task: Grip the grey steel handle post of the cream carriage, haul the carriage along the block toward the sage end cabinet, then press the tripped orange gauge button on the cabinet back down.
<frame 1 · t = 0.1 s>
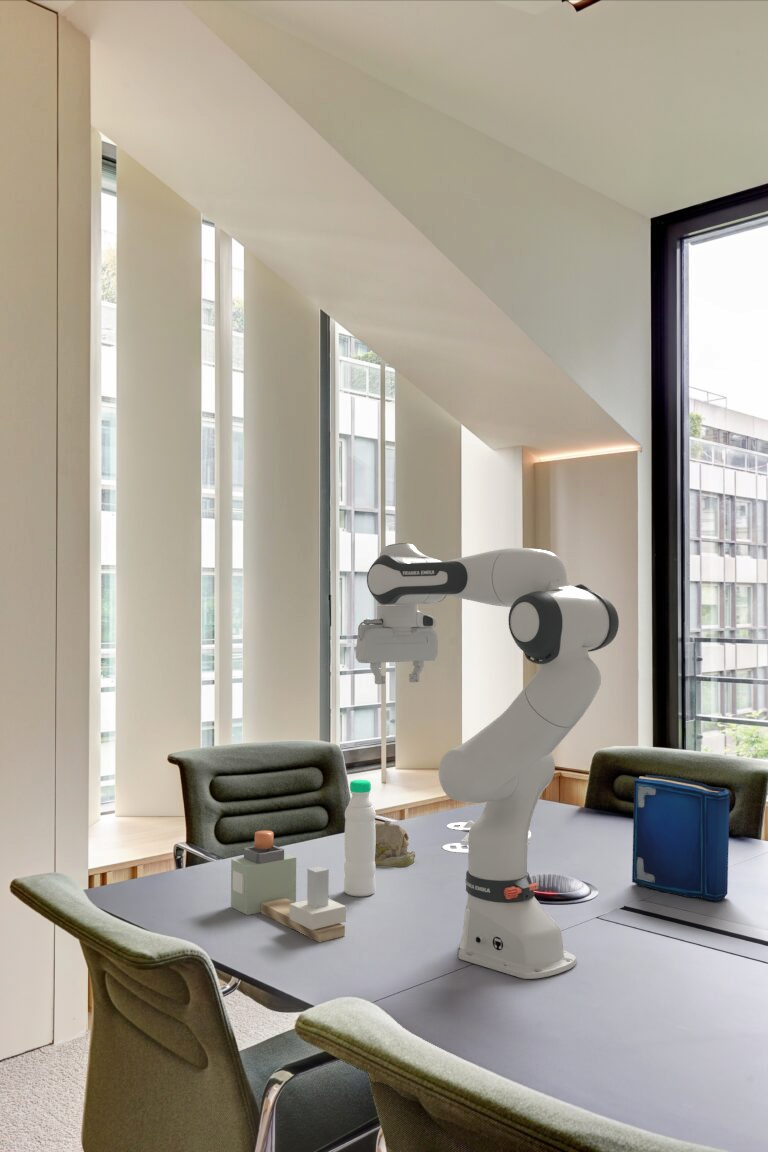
hand: (397, 683, 204), 48 cm above the table, fingers open, 8 cm apart
block: (301, 924, 191), on the table
end cabinet: (263, 905, 203), on the table
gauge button: (264, 839, 204), point 14 cm above the table, slide at 0.0 cm
carriage: (317, 894, 187), point 7 cm above the table, slide at 0.0 cm
cable organizer: (487, 840, 265), on the table
book: (681, 892, 215), on the table
water bottle: (359, 893, 213), on the table
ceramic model: (387, 861, 241), on the table
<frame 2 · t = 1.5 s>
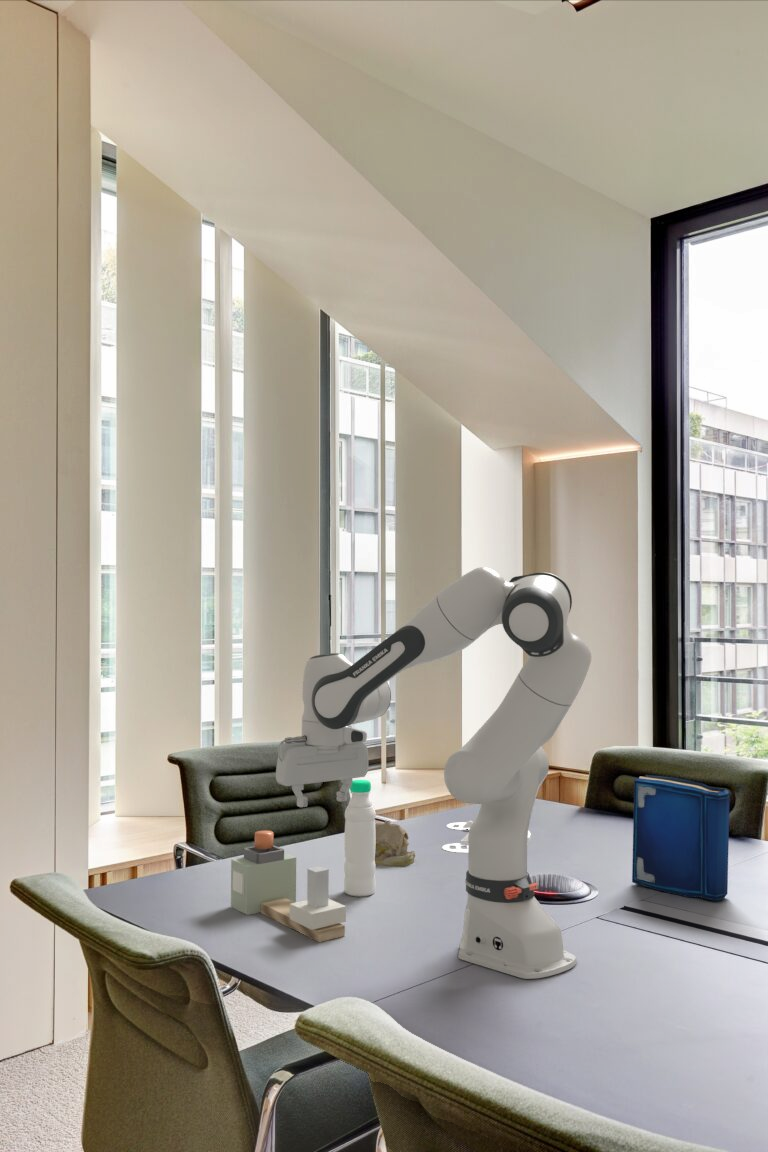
hand: (322, 803, 189), 25 cm above the table, fingers open, 8 cm apart
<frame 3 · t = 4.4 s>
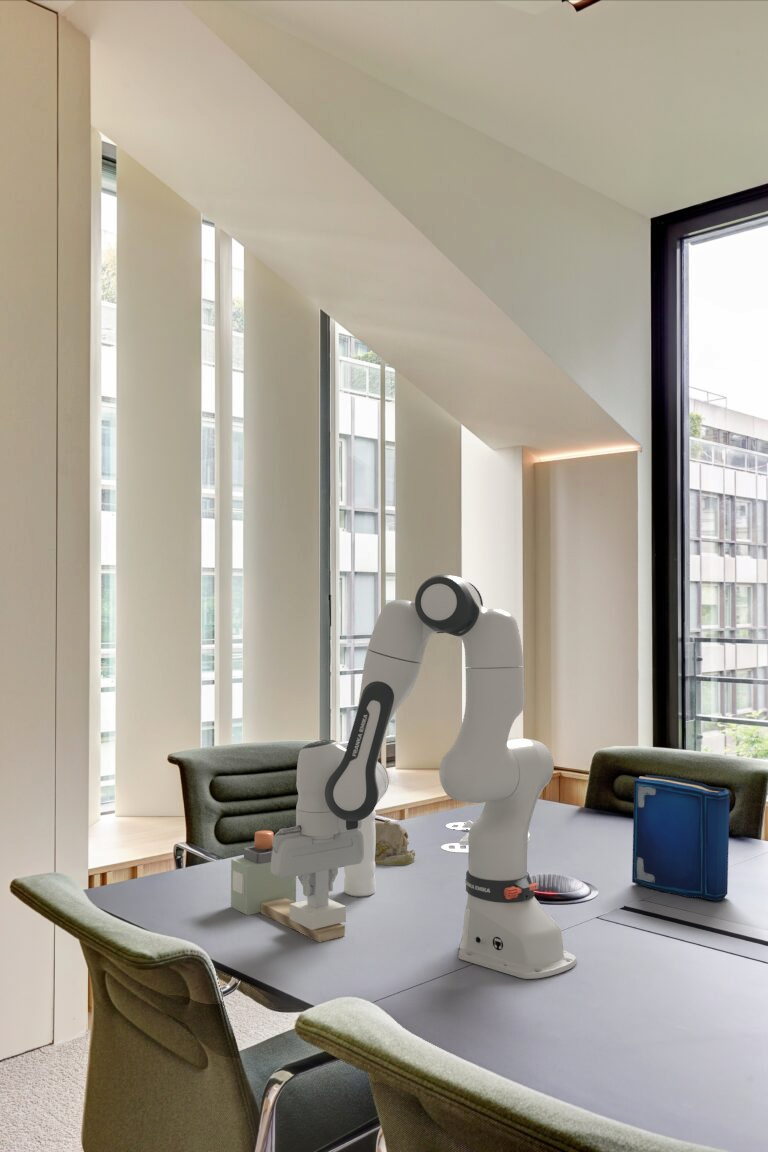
hand: (317, 893, 187), 8 cm above the table, fingers closed on carriage, 3 cm apart
carriage: (317, 894, 187), point 7 cm above the table, slide at 0.0 cm, touching gripper
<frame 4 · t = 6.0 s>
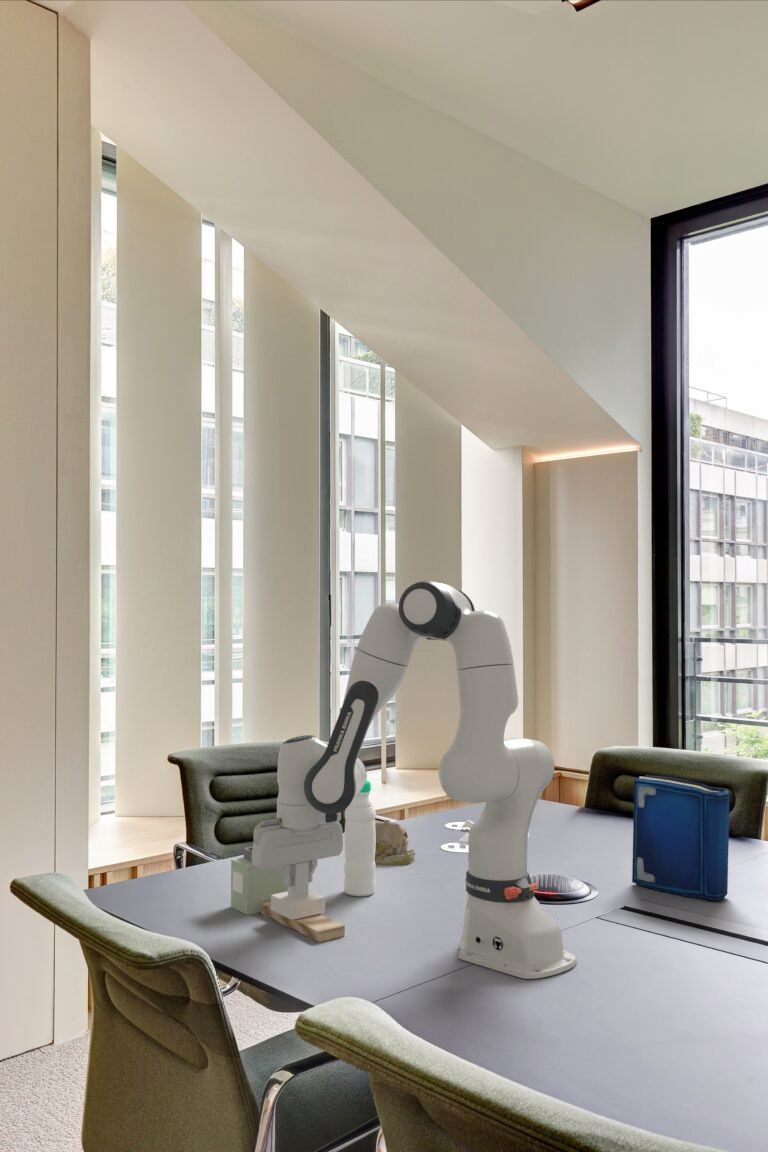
hand: (298, 883, 193), 8 cm above the table, fingers closed on carriage, 3 cm apart
carriage: (298, 886, 193), point 7 cm above the table, slide at 7.2 cm, touching gripper
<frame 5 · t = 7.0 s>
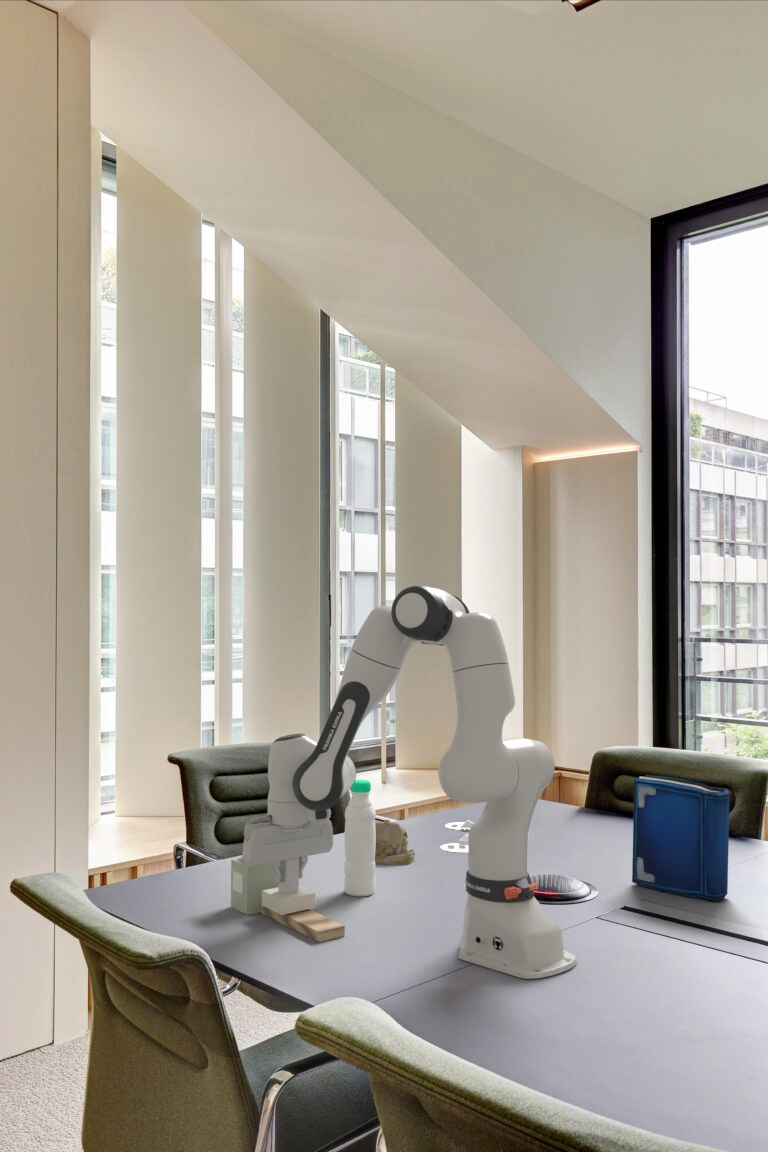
hand: (288, 880, 196), 8 cm above the table, fingers closed on carriage, 3 cm apart
carriage: (288, 881, 196), point 7 cm above the table, slide at 11.0 cm, touching gripper
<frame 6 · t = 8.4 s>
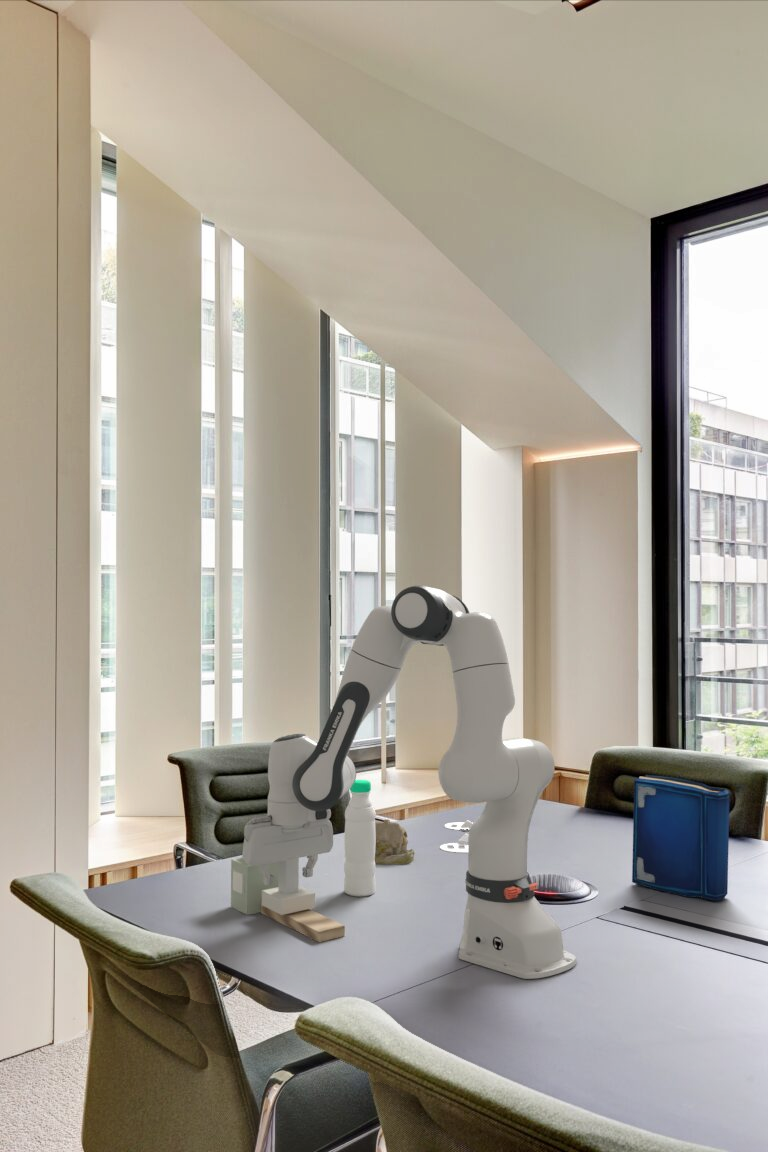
hand: (288, 880, 196), 8 cm above the table, fingers open, 8 cm apart
carriage: (288, 881, 196), point 7 cm above the table, slide at 11.0 cm
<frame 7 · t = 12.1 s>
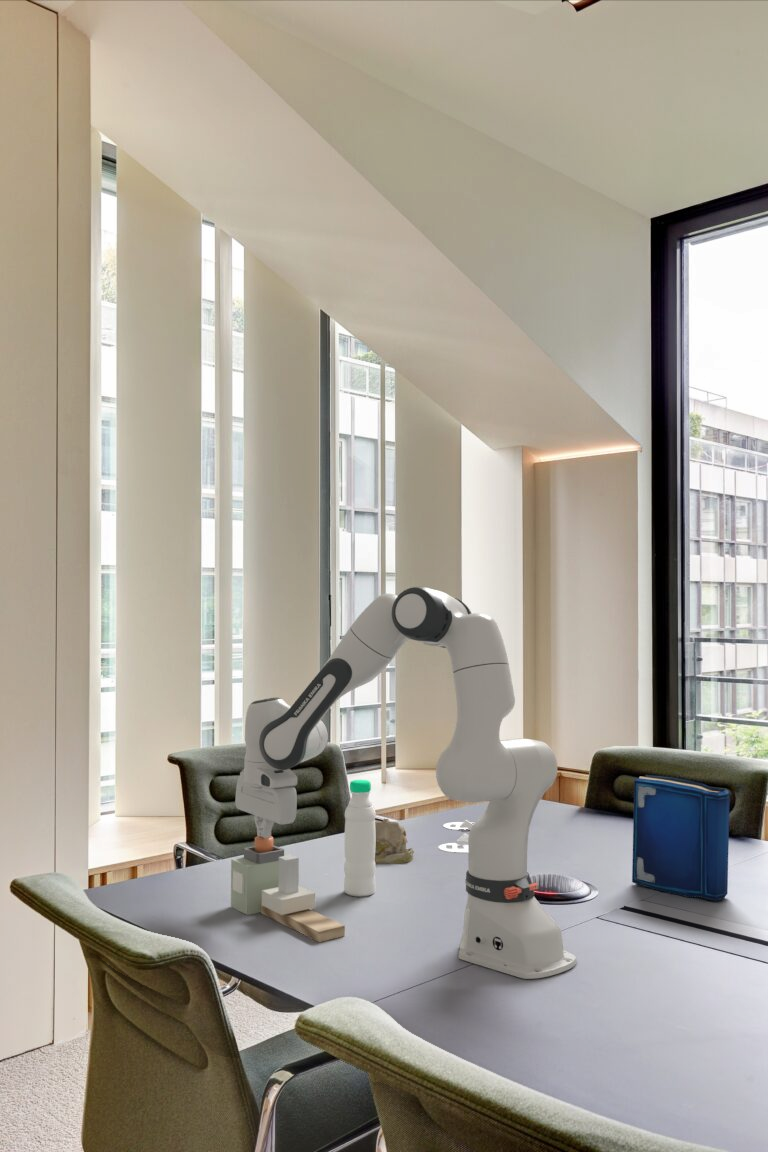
hand: (264, 837, 204), 14 cm above the table, fingers closed, pressing on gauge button
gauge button: (264, 844, 204), point 13 cm above the table, slide at -1.1 cm, touching gripper
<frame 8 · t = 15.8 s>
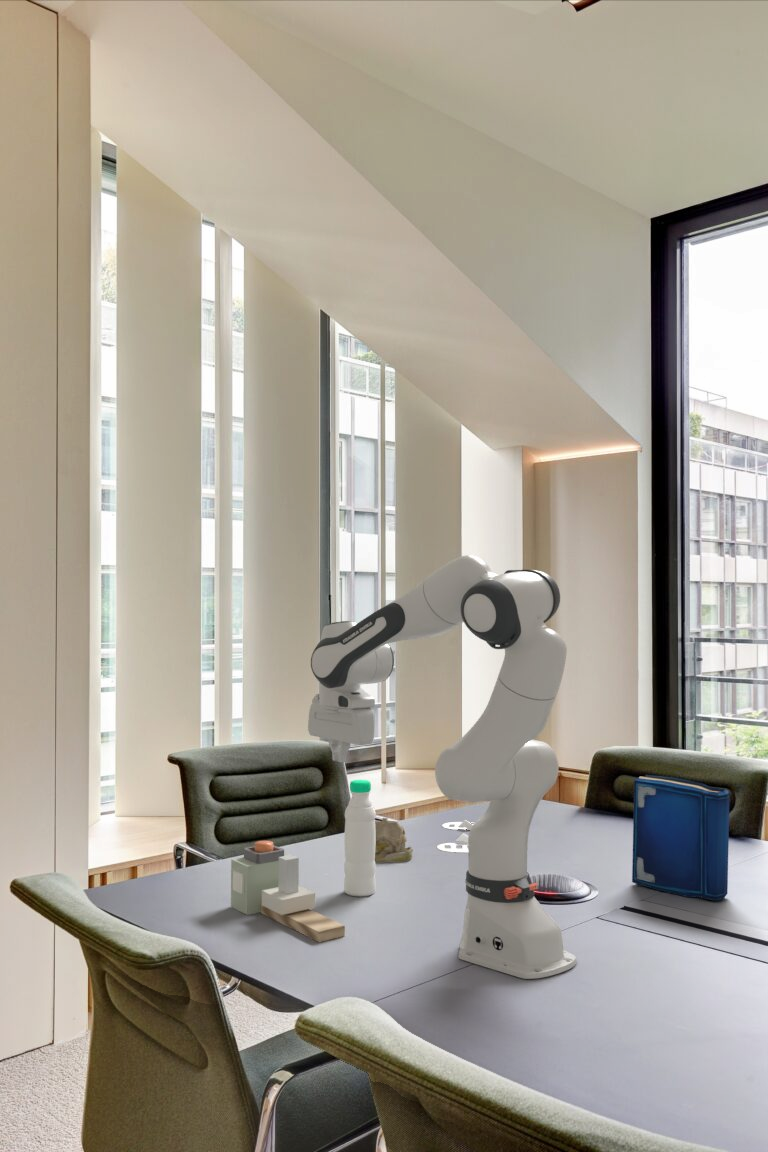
hand: (339, 761, 203), 31 cm above the table, fingers closed
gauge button: (264, 849, 204), point 12 cm above the table, slide at -2.2 cm
at the end: carriage slide at 11.0 cm; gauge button slide at -2.2 cm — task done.
